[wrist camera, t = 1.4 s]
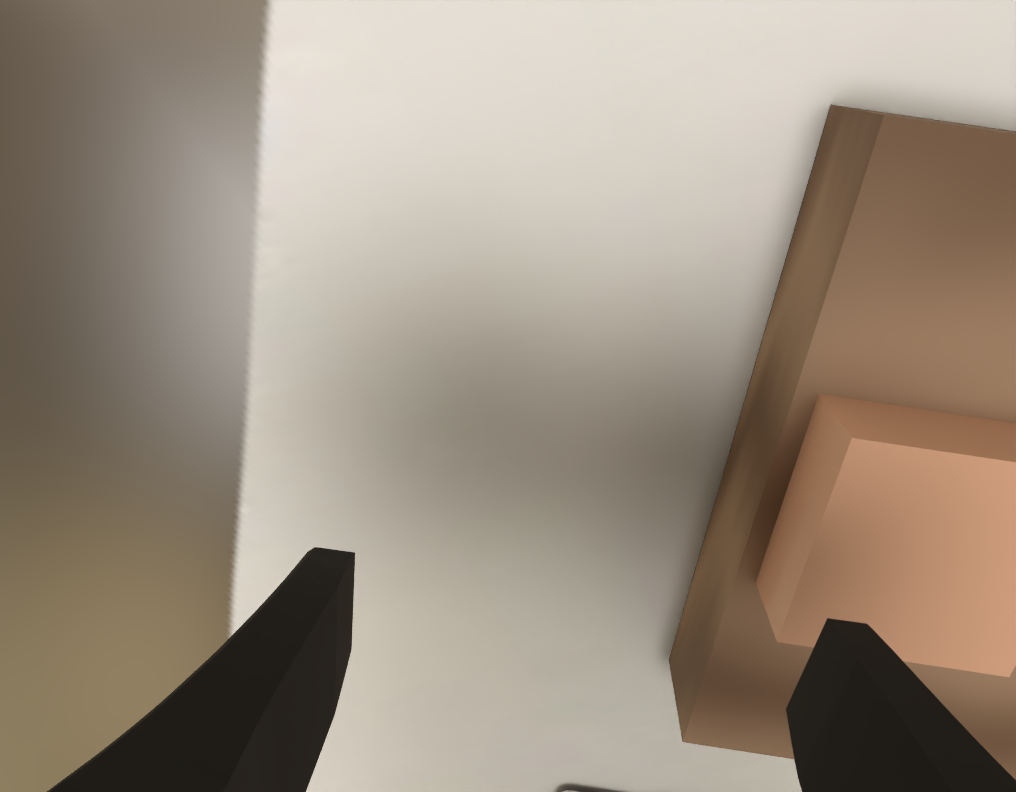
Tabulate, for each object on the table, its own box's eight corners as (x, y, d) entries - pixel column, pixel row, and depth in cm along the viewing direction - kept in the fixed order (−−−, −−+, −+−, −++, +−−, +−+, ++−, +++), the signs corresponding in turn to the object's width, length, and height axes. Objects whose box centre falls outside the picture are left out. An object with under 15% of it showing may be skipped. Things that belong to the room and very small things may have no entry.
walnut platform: (1027, 714, 23) (1089, 804, 20) (668, 660, 23) (682, 741, 20) (1339, 178, 16) (1496, 203, 13) (831, 105, 16) (883, 115, 14)
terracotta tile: (963, 614, 18) (1009, 677, 16) (755, 582, 18) (777, 642, 16) (1055, 429, 16) (1119, 477, 14) (819, 393, 16) (851, 437, 14)
